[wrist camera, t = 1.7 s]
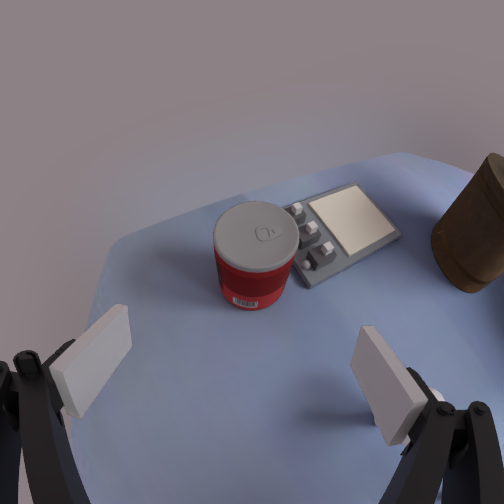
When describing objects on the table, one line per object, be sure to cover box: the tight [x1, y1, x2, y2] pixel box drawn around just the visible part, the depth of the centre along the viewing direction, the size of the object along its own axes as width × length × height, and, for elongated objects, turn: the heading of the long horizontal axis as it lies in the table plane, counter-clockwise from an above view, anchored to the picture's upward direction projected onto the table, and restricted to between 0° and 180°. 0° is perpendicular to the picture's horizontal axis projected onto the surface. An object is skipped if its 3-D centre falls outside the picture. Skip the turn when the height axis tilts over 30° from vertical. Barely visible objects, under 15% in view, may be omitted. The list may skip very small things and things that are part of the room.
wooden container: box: [432, 153, 504, 293], centre depth 29 cm, size 15×15×22 cm
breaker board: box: [282, 182, 402, 289], centre depth 37 cm, size 18×12×4 cm, turn 118°
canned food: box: [213, 201, 299, 310], centre depth 30 cm, size 8×8×11 cm
